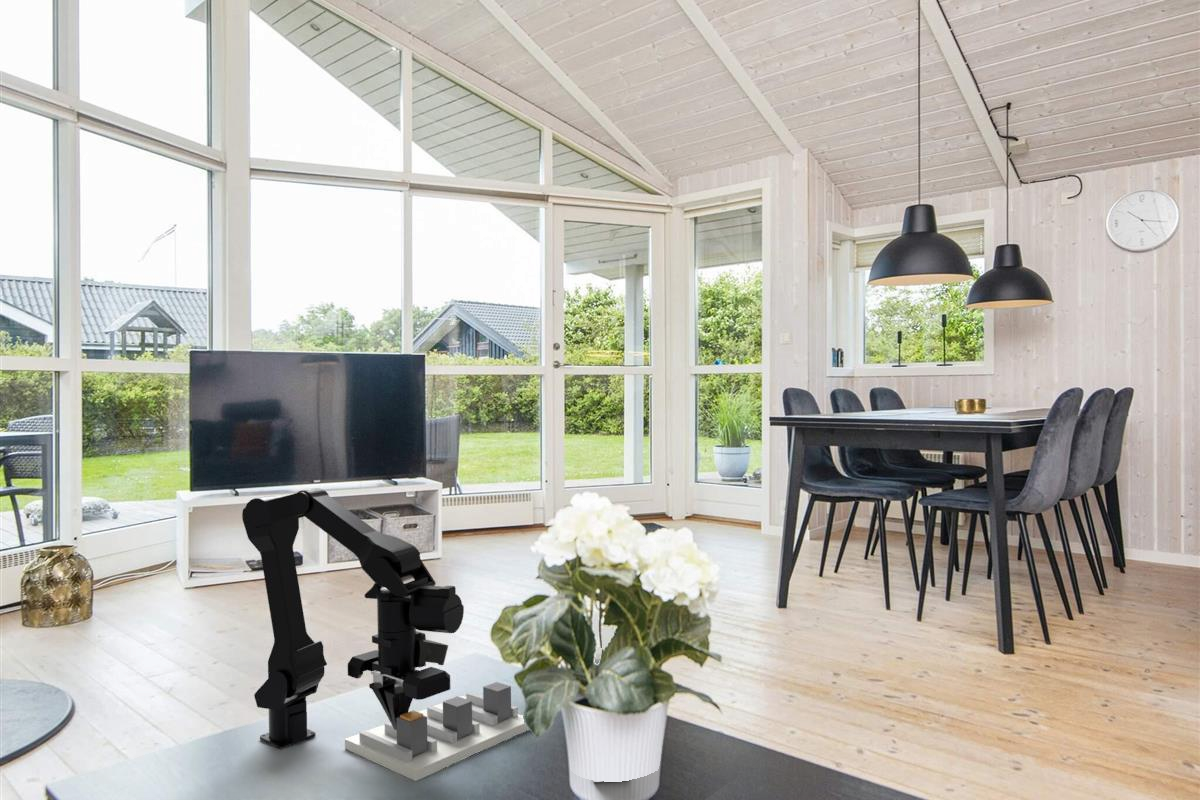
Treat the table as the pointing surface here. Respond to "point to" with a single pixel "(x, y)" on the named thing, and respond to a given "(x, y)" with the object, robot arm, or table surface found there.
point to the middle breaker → (458, 716)
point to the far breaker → (497, 700)
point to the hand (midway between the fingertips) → (398, 729)
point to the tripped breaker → (412, 732)
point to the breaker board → (436, 740)
